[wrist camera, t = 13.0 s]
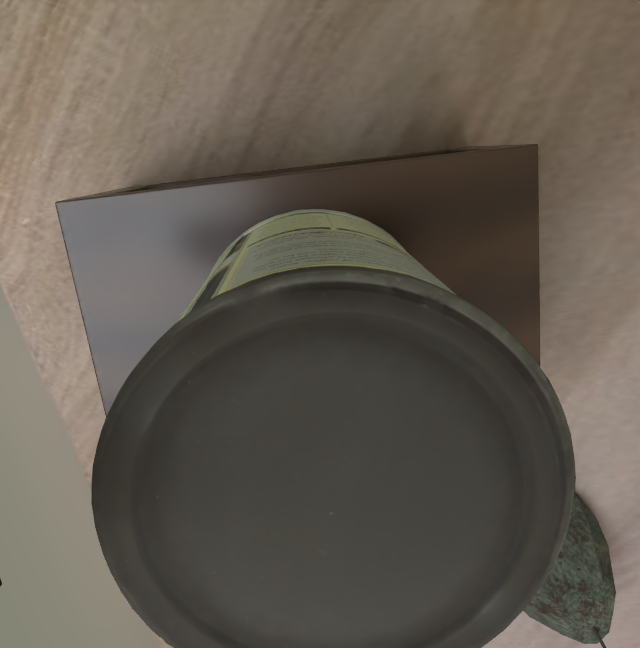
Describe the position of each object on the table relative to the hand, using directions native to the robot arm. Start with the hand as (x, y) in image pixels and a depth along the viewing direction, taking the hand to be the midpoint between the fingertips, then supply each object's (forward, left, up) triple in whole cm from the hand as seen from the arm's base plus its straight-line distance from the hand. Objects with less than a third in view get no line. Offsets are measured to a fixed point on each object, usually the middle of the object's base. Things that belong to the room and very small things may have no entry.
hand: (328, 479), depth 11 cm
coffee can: (+1, +1, -16) cm, 16 cm away
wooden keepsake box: (+1, +1, -25) cm, 25 cm away
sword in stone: (+7, +26, -26) cm, 37 cm away
